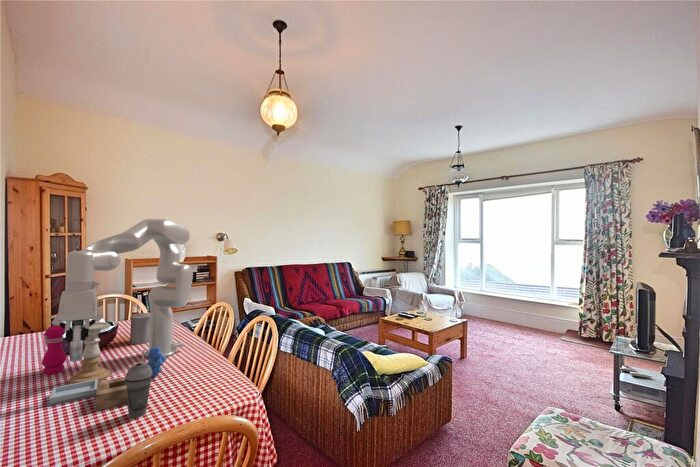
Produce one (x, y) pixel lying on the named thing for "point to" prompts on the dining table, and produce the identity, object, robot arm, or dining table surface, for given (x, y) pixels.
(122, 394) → the block
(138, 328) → the pillar candle
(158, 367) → the grapes
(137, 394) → the beverage cup
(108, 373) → the candle holder
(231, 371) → the dining table surface
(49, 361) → the pepper mill
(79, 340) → the pin
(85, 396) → the dish
